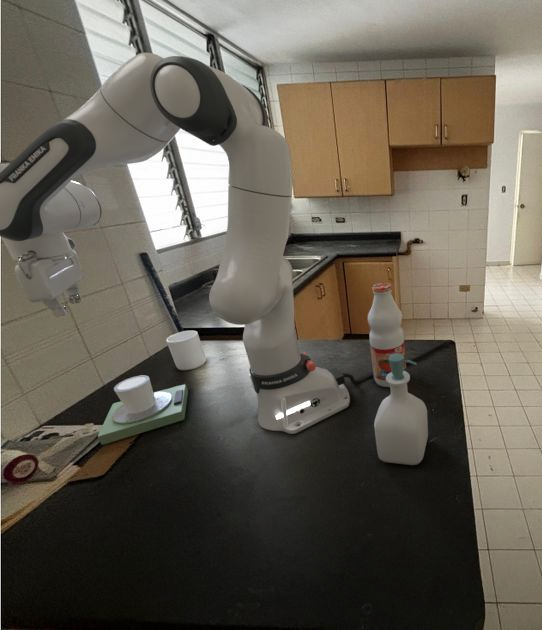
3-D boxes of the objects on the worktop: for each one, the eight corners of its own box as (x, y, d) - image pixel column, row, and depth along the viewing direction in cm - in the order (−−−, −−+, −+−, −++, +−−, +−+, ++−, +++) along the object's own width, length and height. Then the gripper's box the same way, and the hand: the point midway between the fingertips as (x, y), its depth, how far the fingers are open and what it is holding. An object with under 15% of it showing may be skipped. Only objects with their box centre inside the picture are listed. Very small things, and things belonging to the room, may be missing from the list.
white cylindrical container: (140, 416, 80) (129, 392, 77) (117, 413, 81) (105, 389, 79) (165, 398, 86) (156, 375, 83) (144, 396, 88) (133, 373, 85)
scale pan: (174, 388, 92) (173, 386, 91) (169, 412, 82) (168, 410, 82) (119, 403, 86) (118, 401, 86) (106, 431, 77) (105, 429, 76)
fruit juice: (394, 366, 102) (387, 277, 91) (413, 379, 95) (407, 285, 84) (368, 377, 97) (356, 285, 86) (385, 392, 90) (375, 294, 79)
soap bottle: (422, 470, 66) (416, 372, 57) (375, 465, 67) (363, 368, 58) (429, 435, 74) (426, 345, 65) (388, 431, 76) (378, 343, 67)
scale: (188, 391, 94) (184, 381, 93) (184, 419, 83) (180, 409, 82) (116, 411, 87) (111, 401, 86) (101, 445, 76) (96, 434, 75)
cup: (186, 373, 103) (176, 344, 99) (164, 365, 109) (153, 337, 105) (212, 360, 110) (203, 332, 106) (190, 353, 115) (180, 327, 111)
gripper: (39, 254, 63) (72, 320, 69) (76, 239, 80) (100, 293, 85) (-9, 259, 60) (29, 328, 66) (40, 242, 77) (67, 298, 82)
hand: (69, 308), depth 76 cm, fingers open, 8 cm apart
